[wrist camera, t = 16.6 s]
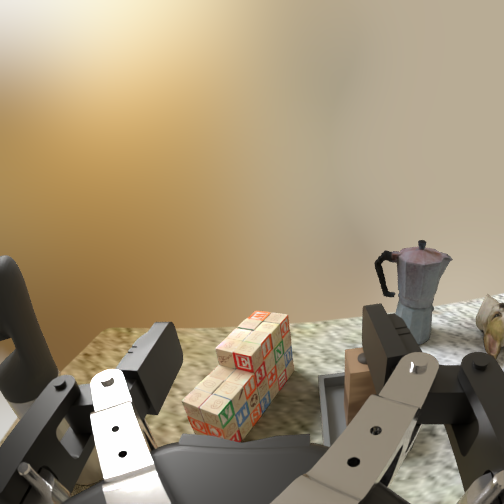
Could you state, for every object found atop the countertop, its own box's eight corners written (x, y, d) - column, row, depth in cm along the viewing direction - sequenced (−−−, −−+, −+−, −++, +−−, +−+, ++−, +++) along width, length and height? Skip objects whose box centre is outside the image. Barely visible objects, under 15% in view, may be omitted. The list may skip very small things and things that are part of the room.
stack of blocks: (231, 456, 36) (211, 398, 33) (197, 441, 39) (173, 384, 36) (294, 370, 53) (288, 312, 50) (264, 364, 57) (255, 308, 53)
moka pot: (447, 345, 49) (460, 246, 43) (374, 350, 54) (376, 251, 48) (438, 320, 57) (445, 231, 51) (372, 324, 62) (372, 235, 57)
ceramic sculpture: (506, 283, 47) (541, 321, 34) (498, 317, 50) (528, 358, 37) (468, 290, 50) (501, 333, 36) (461, 325, 53) (488, 371, 39)
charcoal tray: (324, 465, 32) (324, 453, 31) (318, 388, 47) (318, 375, 46) (411, 450, 30) (415, 437, 29) (387, 378, 45) (389, 365, 45)
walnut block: (346, 428, 37) (350, 372, 33) (343, 405, 41) (345, 348, 38) (380, 423, 36) (389, 366, 32) (375, 400, 40) (381, 343, 37)
